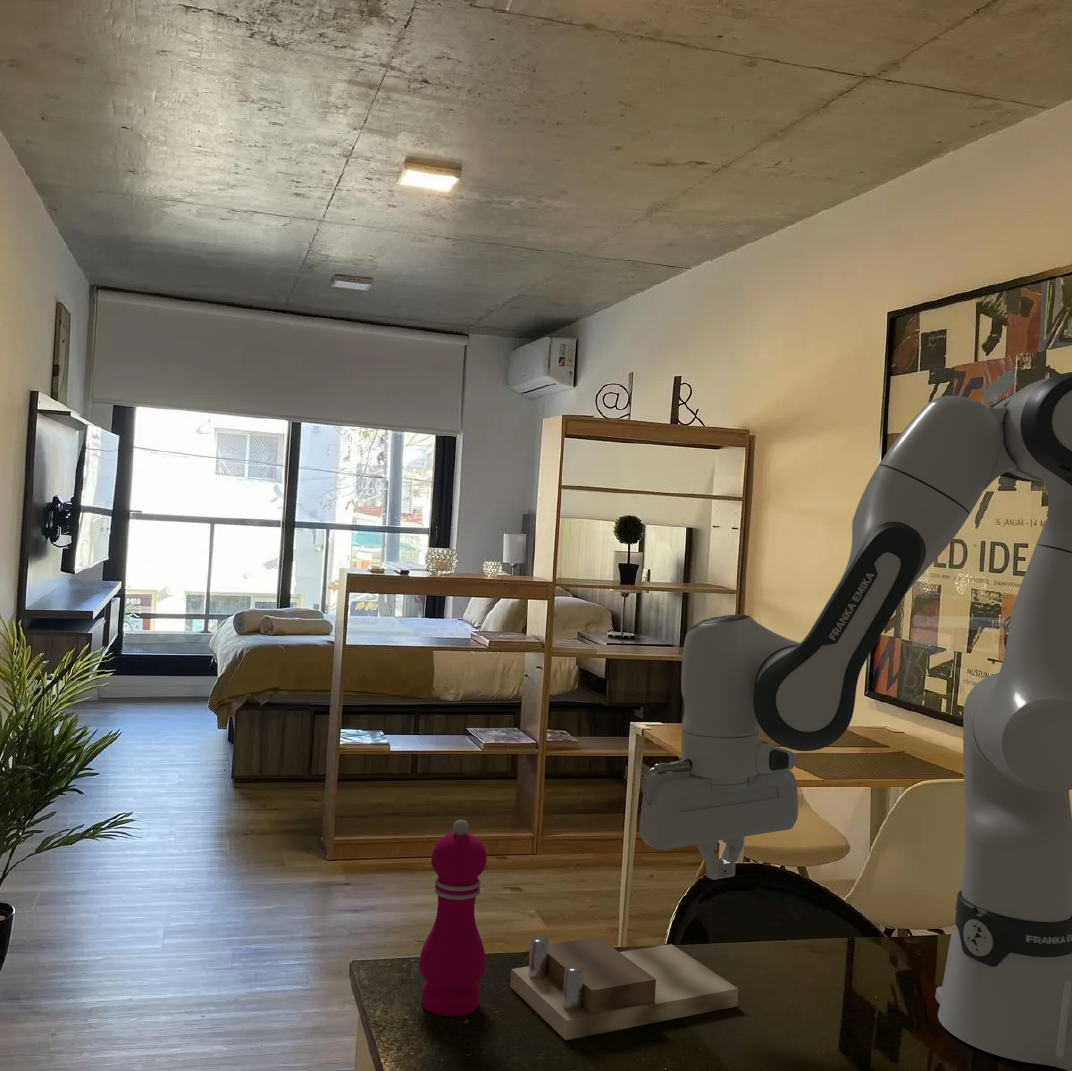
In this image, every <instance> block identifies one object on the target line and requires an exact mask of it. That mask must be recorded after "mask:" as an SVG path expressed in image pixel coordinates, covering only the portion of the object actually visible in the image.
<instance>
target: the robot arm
mask: <svg viewBox="0 0 1072 1071" xmlns="http://www.w3.org/2000/svg"><path fill="white" fill-rule="evenodd" d="M999 477H1002V478H1003V477H1004V478H1007V479H1011V480H1014V481H1019V482H1027V483H1029V482H1030V483H1031V482H1032V483H1033V482H1034V483H1037V482H1043V484H1044V487H1045V490H1046V492H1047V502H1048V504H1047V511H1046V512H1047V513H1046V516H1045V517H1046V520H1045V522H1044V524H1043V527H1042V529H1041V531H1040V534H1039V536H1038V539H1037V542H1036V544H1035V547H1034V548H1033V551H1032V555H1031V558H1030V560H1029V562H1028V565H1027V568H1026V570H1025V573H1024V576H1023V579H1022V581H1021V583H1020V587H1019V590H1018V592H1017V594H1016V598H1015V600H1014V603H1013V606H1012V609H1011V612H1010V620H1009V621H1010V622H1009V629H1008V633H1007V634H1008V635H1007V640H1006V644H1005V649H1004V653H1003V657H1002V662H1001V666H1000V670H999V672H996V673H994V674H991V675H989V676H986V677H984V678H982V680H980V681H978V682H977V683H976V684H975V685H974V686H973V687H972V689H970V690H969V693H968V695H967V696H966V699H965V702H964V706H963V713H962V715H963V722H962V723H963V735H962V738H963V740H962V741H963V742H962V743H963V745H962V748H963V749H962V750H963V752H962V753H963V755H962V756H963V757H962V758H963V762H962V763H963V789H964V790H963V791H964V792H963V793H964V808H965V809H964V810H965V829H964V832H965V833H964V847H963V849H964V850H963V851H964V853H963V863H962V864H963V865H962V866H963V867H962V881H961V882H962V883H961V889H960V890H959V891H958V892H957V897H956V903H955V908H954V911H955V920H954V923H955V926H956V928H957V929H955V930H954V931H953V932H951V936H950V939H949V945H948V950H947V955H946V956H947V958H946V964H945V969H944V975H943V981H942V986H938V987H936V991H935V997H934V998H935V999H936V1002H937V1003H938V1004H939V1008H938V1012H937V1019H938V1020H939V1022H940V1024H941V1025H942V1027H943V1028H944V1029H945V1030H947V1031H948V1032H949V1033H950V1034H951V1035H953V1036H954V1037H955V1038H958V1040H960V1041H962V1042H964V1043H966V1044H968V1045H969V1046H972V1047H974V1048H976V1049H979V1050H982V1051H983V1052H986V1053H989V1054H992V1055H995V1056H998V1057H1001V1058H1005V1059H1009V1060H1013V1061H1017V1062H1023V1063H1028V1064H1036V1065H1045V1066H1050V1067H1055V1068H1057V1069H1062V1070H1065V1071H1072V807H1071V797H1070V791H1071V790H1072V371H1070V372H1064V373H1063V372H1062V373H1060V374H1057V375H1054V376H1052V377H1047V378H1044V379H1043V378H1042V379H1040V380H1036V381H1034V382H1031V383H1029V384H1027V385H1026V386H1024V387H1022V388H1021V389H1019V391H1016V392H1015V393H1012V394H1010V395H1008V396H1006V397H1004V398H1002V399H999V400H998V401H996V402H995V403H994V404H991V405H990V406H986V405H985V404H983V403H982V402H979V400H978V401H977V400H975V399H973V398H970V397H966V396H961V395H944V396H943V395H942V396H939V397H937V398H935V399H932V400H931V401H929V402H928V403H927V404H926V405H924V407H923V408H922V409H921V410H920V411H919V412H918V413H917V414H916V415H915V416H914V418H913V419H912V420H911V421H910V422H909V423H908V424H907V425H906V427H905V428H904V429H903V430H902V432H901V433H900V434H899V435H898V437H897V438H896V439H895V440H894V442H893V443H892V445H891V446H890V447H889V449H888V450H887V451H886V453H885V454H884V456H883V458H882V459H881V461H880V462H879V464H878V466H877V467H876V468H875V470H874V472H873V473H872V475H871V477H870V479H869V480H868V482H867V485H866V487H865V489H864V490H863V493H862V495H861V498H860V499H859V503H858V504H857V507H856V510H855V512H854V515H853V518H852V522H851V525H852V526H851V533H852V534H851V548H850V553H849V558H848V561H847V565H846V566H845V570H844V572H843V574H842V576H841V578H840V580H839V582H838V583H837V586H836V587H835V588H834V590H833V592H832V593H831V595H830V597H829V599H828V600H827V602H826V603H825V604H824V607H823V609H822V610H821V612H820V613H819V615H818V617H817V619H816V620H815V621H814V624H813V625H812V627H811V628H810V629H809V630H810V631H809V632H808V633H807V635H806V636H805V638H804V639H803V640H802V641H801V642H798V641H796V640H792V639H789V638H787V637H785V636H782V635H780V634H778V633H776V632H774V631H772V630H770V629H769V628H767V627H765V626H763V625H762V624H761V623H759V622H758V621H756V620H755V619H754V618H753V617H751V616H750V615H747V614H742V613H741V614H740V613H739V614H738V613H737V614H736V613H735V614H728V615H719V616H714V617H710V618H707V619H702V620H700V621H698V622H696V623H695V624H694V625H692V626H691V628H690V629H689V630H688V631H687V633H686V634H685V638H684V641H683V642H684V643H683V648H682V657H681V681H680V682H681V685H680V686H681V688H680V689H681V696H682V699H683V704H684V715H683V719H682V723H681V735H680V736H681V760H676V761H671V762H659V763H656V764H654V766H653V767H652V768H650V769H648V771H647V772H646V774H645V775H644V776H643V781H642V789H643V790H642V794H643V797H642V801H641V802H642V803H641V810H640V818H639V819H640V820H639V837H640V838H641V840H642V841H643V842H644V843H645V844H646V845H648V846H650V847H652V848H654V849H656V850H659V851H662V850H663V851H665V850H669V849H675V848H676V849H677V848H682V847H683V848H684V847H688V846H695V845H696V848H697V850H698V852H699V853H700V855H701V857H702V859H703V861H704V862H705V876H706V877H707V878H708V879H710V880H712V881H715V880H720V879H726V878H731V877H735V875H736V862H737V860H738V858H739V856H740V855H741V852H742V850H743V849H744V845H745V844H744V843H745V841H744V840H745V837H750V836H756V835H757V836H758V835H764V834H768V833H769V834H770V833H775V832H781V831H789V830H791V829H793V828H794V826H795V825H796V822H797V821H798V815H799V797H798V796H799V795H798V784H797V779H796V777H795V775H794V773H793V771H791V770H793V769H794V768H795V765H796V754H795V753H794V752H793V751H797V752H814V751H818V750H821V749H824V748H827V747H828V746H831V745H832V744H834V743H835V742H837V741H838V739H840V738H841V737H842V736H843V735H844V733H845V732H846V731H847V730H848V727H849V725H850V724H851V721H852V719H853V715H854V710H855V704H856V694H857V686H858V680H859V677H860V673H861V671H862V669H863V666H864V664H865V663H866V661H867V659H868V657H869V656H870V654H871V652H872V651H873V649H874V647H875V646H876V644H877V643H878V640H879V639H880V637H881V635H882V633H883V632H884V630H885V629H886V627H887V625H888V624H889V622H890V620H891V619H892V617H893V615H894V614H895V612H896V610H897V609H898V607H899V606H900V604H901V603H902V600H903V599H904V598H905V596H906V594H908V592H909V590H911V588H912V587H913V586H914V585H915V583H917V581H918V580H919V579H920V577H922V575H923V574H924V573H925V572H927V570H928V569H929V568H930V566H931V565H933V563H934V562H935V561H936V560H937V559H938V557H940V555H942V553H943V552H944V551H945V550H946V549H947V547H948V546H949V545H950V543H951V542H952V541H953V540H954V538H955V537H956V535H957V534H958V533H959V531H960V530H961V529H962V527H963V526H964V524H965V523H966V521H967V520H968V518H969V516H970V515H971V513H972V511H973V510H974V508H975V507H976V504H977V503H978V502H979V500H980V498H981V496H982V494H983V492H984V491H985V490H987V488H989V486H990V485H991V484H992V483H993V482H994V481H995V480H996V479H997V478H999ZM760 728H761V730H762V732H764V734H765V735H766V736H767V738H770V739H771V740H772V741H773V742H775V743H776V744H778V745H780V747H779V746H776V745H772V744H769V743H768V742H767V741H764V740H761V739H760ZM781 746H782V747H781ZM783 747H784V748H783ZM720 841H722V843H724V844H725V846H724V850H723V852H722V854H721V858H718V857H717V856H716V853H715V852H714V851H718V850H719V846H718V844H719V843H718V842H720Z"/></svg>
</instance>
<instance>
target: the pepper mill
mask: <svg viewBox="0 0 1072 1071" xmlns="http://www.w3.org/2000/svg"><path fill="white" fill-rule="evenodd" d="M469 831H470V825H469V823H468V822H467V820H465V819H458V820H456V821H455V822H454V823H453V824H452V832H450V833H447V834H445V835H444V836H442V837H440V838H439V839H438V840H437V842H436V843H435V844H434V847H433V848H432V852H431V856H430V857H431V860H430V862H431V865H432V869H433V870H434V872H435V873H436V875H437V876H436V877H435V878H434V884H435V885H434V888H433V891H434V893H435V894H436V895H437V909H436V910H437V911H436V917H435V921H434V923H433V925H432V928H431V930H430V932H429V934H428V936H427V938H426V939H425V942H424V943H423V946H422V948H421V951H420V957H419V964H418V967H419V972H420V974H421V976H422V977H423V979H424V980H425V982H424V983H423V984H422V988H421V1005H422V1007H423V1008H424V1009H425V1010H426V1011H428V1012H429V1013H431V1014H434V1015H438V1016H442V1017H460V1016H461V1017H462V1016H465V1015H466V1016H467V1015H468V1014H471V1013H473V1012H475V1011H476V1010H477V1008H478V1007H479V1005H480V992H481V991H480V990H481V988H480V986H479V985H478V982H479V981H480V979H482V977H483V975H484V974H485V971H486V968H487V966H486V964H487V962H486V961H487V960H486V953H485V952H486V951H485V947H484V945H483V941H482V937H481V936H480V932H479V929H478V926H477V924H476V917H475V904H476V899H477V896H479V895H480V894H481V888H480V885H481V884H482V881H481V879H480V878H479V876H480V875H481V874H482V873H484V872H483V871H485V868H486V867H487V866H486V865H487V861H488V860H487V859H488V858H487V857H488V856H487V850H486V848H485V844H483V843H484V842H482V841H481V839H480V838H478V837H476V836H475V835H473V834H471V833H469Z"/></svg>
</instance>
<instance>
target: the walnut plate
mask: <svg viewBox="0 0 1072 1071" xmlns="http://www.w3.org/2000/svg"><path fill="white" fill-rule="evenodd" d="M620 952H621V951H619V950H617V949H616V948H615V947H614V946H611V944H609V943H608V942H606V941H605V940H604V939H603V938H601V937H599V936H598V937H590V938H583V939H576V940H570V941H564V942H563V941H561V942H556V943H551V944H549V943H548V952H547V968H546V976H547V977H549V978H550V979H551V980H552V981H553V982H554V983H555V984H557V985H558V986H559V987H560V988H561V989H562V990H564V973H565V967H566V966H568V965H577V966H580V967H582V968H583V969H584V974H583V991H582V1007H583V1008H584V1009H585V1010H586V1011H587V1012H588V1013H589V1014H596V1013H601V1012H606V1011H612V1010H617V1009H623V1008H628V1007H633V1006H639V1005H644V1004H649V1003H655V990H656V979H655V978H654V977H652V976H651V975H650V974H648V973H647V972H646V971H644V970H643V969H641V968H640V967H639V966H637V965H636V964H635V963H633V962H632V961H631V960H629V959H628V958H627V957H625V956H624V955H623V954H621V953H620Z"/></svg>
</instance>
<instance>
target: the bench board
mask: <svg viewBox="0 0 1072 1071" xmlns="http://www.w3.org/2000/svg"><path fill="white" fill-rule="evenodd" d="M548 944H549V939H548V938H547V937H544V936H533V937H531V938H530V941H529V955H528V957H529V958H528V966H523V967H517V968H511V970H510V986H509V987H510V988H511V990H513V991H514V992H515V993H516V994H517V995H518V996H520V998H521V999H522V1000H524V1002H525V1003H526V1004H528V1005H529V1007H530V1008H532V1009H533V1010H534V1011H535V1012H536V1013H537V1014H538V1015H539V1016H540V1017H541V1018H542V1019H543V1020H544V1021H545V1022H546V1023H548V1025H549V1026H550V1027H552V1029H553V1030H554V1031H555V1032H556V1033H558V1034H559V1035H560V1037H562V1038H563V1039H564V1040H565V1041H569V1040H574V1039H579V1038H584V1037H588V1036H589V1037H591V1036H593V1035H594V1036H595V1035H599V1034H603V1033H604V1034H605V1033H610V1032H614V1031H619V1030H624V1029H630V1028H633V1027H634V1028H635V1027H640V1026H644V1025H650V1024H654V1023H660V1022H665V1021H670V1020H674V1019H675V1020H676V1019H680V1018H685V1017H689V1016H696V1015H700V1014H705V1013H706V1014H707V1013H711V1012H717V1011H721V1010H725V1009H730V1008H734V1007H738V999H739V998H738V997H739V988H738V987H737V986H735V985H733V984H732V983H731V982H729V981H727V980H726V979H724V978H723V977H722V976H720V975H719V974H718V973H715V972H714V971H712V970H711V969H709V968H708V967H707V966H705V964H703V963H700V962H699V961H698V960H696V959H695V958H693V957H692V956H690V955H689V954H687V953H685V952H684V951H682V950H681V949H679V948H678V947H676V945H674V944H672V943H669V944H663V945H657V946H651V947H644V948H643V947H642V948H638V949H631V950H626V951H619V952H620V953H621V954H623V955H624V956H625V957H627V958H628V959H629V960H631V961H632V962H633V963H635V964H636V965H637V966H639V967H640V968H641V969H643V970H644V971H646V972H647V973H648V974H650V975H651V976H652V977H654V978H655V979H656V990H655V1003H649V1004H644V1005H639V1006H633V1007H628V1008H623V1009H617V1010H612V1011H606V1012H601V1013H596V1014H589V1013H588V1012H587V1011H586V1010H585V1009H584V1008H583V1007H582V991H583V974H584V969H583V968H582V967H580V966H577V965H568V966H566V967H565V973H564V990H562V989H561V988H560V987H559V986H558V985H557V984H555V983H554V982H553V981H552V980H551V979H550V978H549V977H547V976H546V968H547V952H548Z"/></svg>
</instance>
